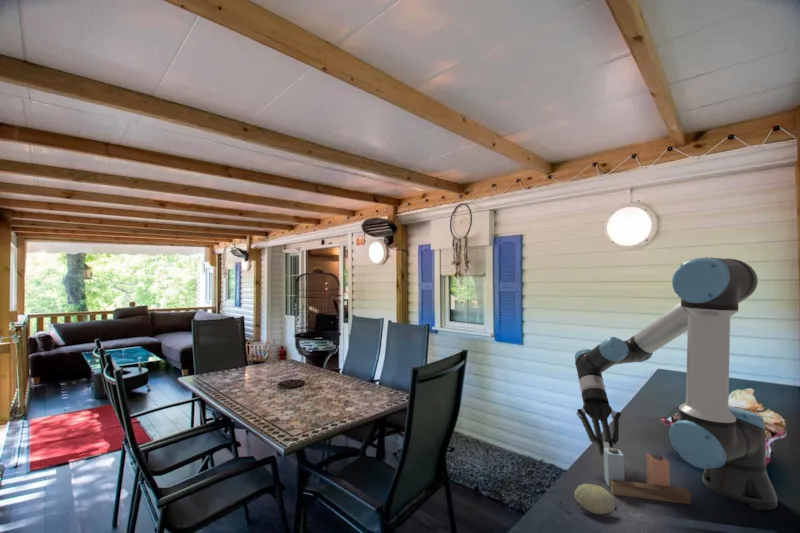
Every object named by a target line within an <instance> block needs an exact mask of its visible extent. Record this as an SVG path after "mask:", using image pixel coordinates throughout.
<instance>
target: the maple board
mask: <svg viewBox="0 0 800 533" xmlns="http://www.w3.org/2000/svg"><path fill="white" fill-rule="evenodd" d="M609 490H610V491H611V493H612V494H611V495H614V496H615V495H617V496H622V497H623V496H625V497H631V498H639V499H647V500H655V501H661V502H662V501H664V502H671V503H680V504H685V505H686V504H687V505H691V492H690V491H689V490H688V489H687V488H686V487H685V488H684V487H678V486H671V485H670V486H661V485H653V484H647V483H644V482H635V481H626V480H625V481H619V480H611V479H610V487H609Z"/></svg>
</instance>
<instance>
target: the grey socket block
mask: <svg viewBox="0 0 800 533" xmlns="http://www.w3.org/2000/svg"><path fill="white" fill-rule="evenodd" d="M603 469H604V470H603V472H604V477H603V478H604V482H605V484H606V485H607V487H608V488H610V479H611V480H619V481H626V480H625V455H624V454H623V452H622V451H621V450H620V449H619V448H616V447H613V448H604V455H603Z"/></svg>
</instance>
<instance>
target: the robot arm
mask: <svg viewBox="0 0 800 533" xmlns="http://www.w3.org/2000/svg"><path fill="white" fill-rule="evenodd" d="M671 284H672V289H673V291H674V293H675V294H676V295H677V297H678V298H680V302H679V303H677V304H676V305H674V306H673V307H671V308H670V309H669V310H667V311H666V312H665V313H663V314H662V315H660V316H659V317H658V318H656V319H654V320H653V321H652V322H650V323H649V324H648V325H646V326H645V327H644V328H642V329H641V330H639V331H638V332H637V333H636V334H634V335H633V336H631V337H630V338H628V339H627V340H622V339H621V338H618V337H617V336H610V337H608V338H606V339H604V340H602V341H601V342H600V343H599V344H598V345H596V346H595V347H594V348H592V349H590V348H584V349H582V350H581V349H579V350H577V351H576V352H575V353H574V362H575V363H574V365H575V368H576V371H577V377H578V382H579V386H580V393H581V398H582V403H583V406H582V408H578V409H577V411H576V415H577V417H578V418H579V419H580V421H581V422H582V425H583V427H584V429H585V431H586V434H587V436H588V438H589V441H590V442H591V443H595V444H596V446H597V448H598V452H599V455H600V456H604V448H614V445H617V444H618V441H619V432H620V431H619V430H620V429H619V426H620V425H619V424H620V423H619V422H620V421H619V420H620V418H621V415H622V413H621V412H620V411H617V412H616V411H615V410H614V409H613V408H612V407H611V406H610V403H609V398H608V394H607V392H606V387H605V384H604V383H605V382H604V379H603V375H602V373H604V371H607V370H608V369H610V368H612V367H613V366H615V365H623V364H633V363H643V362H644V361H649V360H650V359H651V358H652V356H653V354H654V353H655V352H656V351H658V350H659V349H662V348H663V347H664V346H666V345H667V344H669V343H671V342H672V341H673V340H675V339H676V338H678V337H680V336H681V335H684V333H686V332H687V341H686V344H687V345H686V347H687V348H686V382H685V383H686V388H685V390H686V392H685V393H686V394H685V402H683V403H682V404H680V405H679V406H678V420H677V421H675V422H674V423H672V425H671V426H670V427H669V428H670V429H669V432H668V437H669V440H670V443H671V445H672V448H673V449H674V450H675V452H677V454H678V455H679V456H680V457H681V458H682V459H683V460H684V461H686V462H687V463H688V464H690V465H692V466H694V467H696V468H700V469H704V471H703V474H702V478H701V479H702V482H703V484H704V486H706V487H707V488H708V489H709V490H711V491H713V492H714V493H716V494H719V495H721V496H722V497H725V498H728V499H730V500H733V501H737V502H740V503H744V504H748V505H749V506H750V507H751V508H752V509H753V510H760V511H768V510H769V511H770V510H774V509H777V507H778V496H777V493H776V490H775V488H774V486H773V483H772V482H771V480H770V476H769V475H768V472H767V453H766V451H767V450H766V448H767V447H766V427H765V422H764V421H765V420H764V418H763V417H762V415H760V414H758V413H756V412H753V411H749V410H746V409H743V408H739V407H733V406H729V398H730V397H729V396H730V395H729V391H730V390H729V389H730V388H729V387H730V385H729V384H730V382H729V381H730V351H731V350H730V349H731V348H730V346H731V345H730V344H731V342H730V340H731V317H732V316H734V315H735V314H737V313H739V304H740V303H741V302H743V301H744V300H746V299H748V298H749V297H750V296H751V295H753V293H754V292H755V291H756V288H757V287H758V284H759V283H758V275H757V272H756V271H755V270H754V269H753V267H752V266H751V265H749V264H748V263H746V262H744V261H742V260H739V259H735V258H719V257H708V256H707V257H699V258H698V257H697V258H692V259H688V260H687V261H685V262H683V263H682V264H680V265H679V266H678V267H677V269H676V270H675V271H674V273H673V276H672V280H671ZM587 416H588V417H589V418H590V419H591V422H592V425H593V428H592V426H591V424H590V421H589V419H588V417H587ZM610 416H611V418H612V434H611V429H610V426H609V422H608V418H610ZM600 423H601V425H600ZM601 427H602V429H601ZM601 430H602V431H603V435H602V431H601ZM603 436H604V439H603ZM604 440H605V441H604Z"/></svg>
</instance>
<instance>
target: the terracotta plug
mask: <svg viewBox="0 0 800 533" xmlns="http://www.w3.org/2000/svg"><path fill="white" fill-rule="evenodd" d="M645 460H646V462H645V463H646V484H653V485H661V486H670V487H671V478H670V477H671V476H670V461H669V460H668V459H667V458H666V457H665V456H664V455H663V454H659V453H645Z"/></svg>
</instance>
